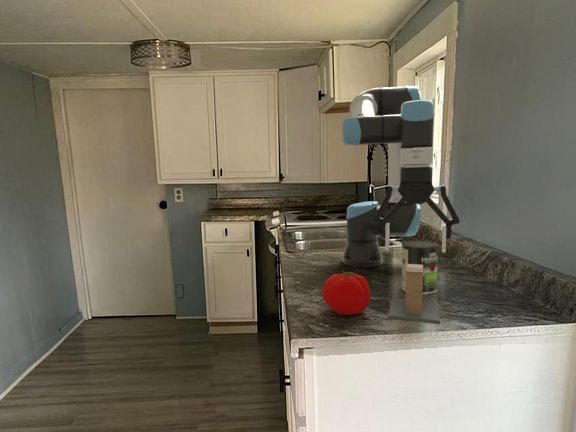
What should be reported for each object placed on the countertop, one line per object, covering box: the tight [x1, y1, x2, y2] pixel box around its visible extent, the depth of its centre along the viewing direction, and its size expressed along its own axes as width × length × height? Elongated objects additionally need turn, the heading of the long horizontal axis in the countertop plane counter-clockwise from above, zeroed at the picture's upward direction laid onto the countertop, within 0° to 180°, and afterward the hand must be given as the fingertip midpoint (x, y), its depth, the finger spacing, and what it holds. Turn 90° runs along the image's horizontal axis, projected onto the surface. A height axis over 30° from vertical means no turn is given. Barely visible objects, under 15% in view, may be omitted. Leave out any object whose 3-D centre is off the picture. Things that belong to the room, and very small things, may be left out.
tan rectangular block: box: [405, 264, 423, 315], centre depth 98 cm, size 7×4×11 cm, turn 160°
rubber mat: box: [387, 298, 441, 324], centre depth 98 cm, size 12×12×1 cm
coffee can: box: [401, 239, 439, 296], centre depth 114 cm, size 10×10×14 cm
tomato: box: [321, 270, 372, 316], centre depth 99 cm, size 13×12×11 cm
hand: (414, 250), depth 96 cm, fingers open, 13 cm apart
